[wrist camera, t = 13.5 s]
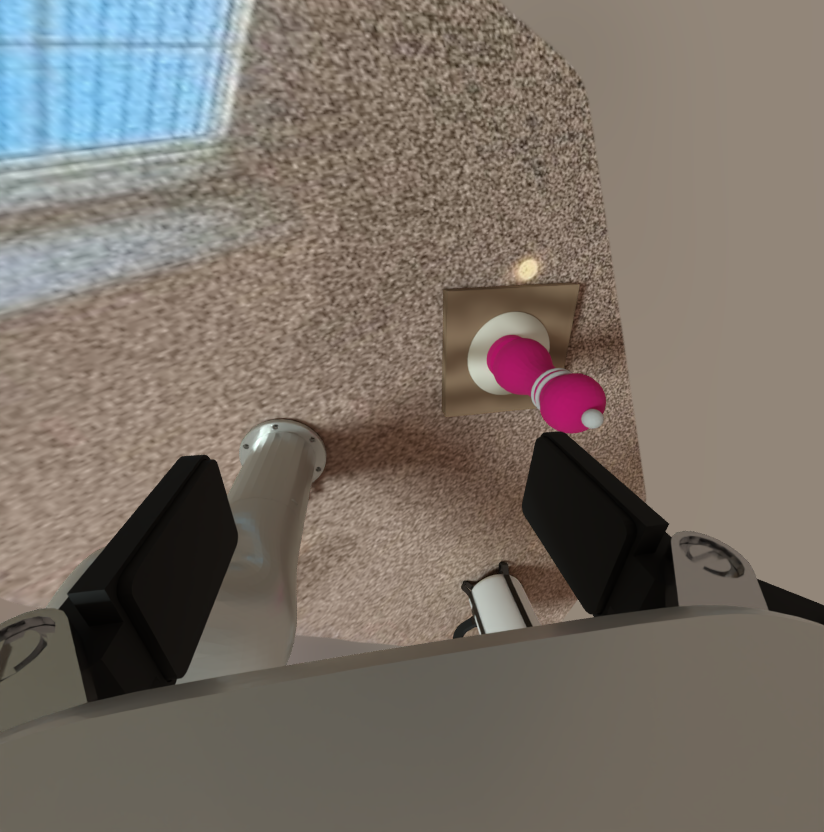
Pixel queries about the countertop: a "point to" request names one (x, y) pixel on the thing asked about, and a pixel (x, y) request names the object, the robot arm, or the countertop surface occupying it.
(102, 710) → the robot arm
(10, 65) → the countertop surface
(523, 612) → the coffee press
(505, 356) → the pepper mill
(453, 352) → the walnut stand
